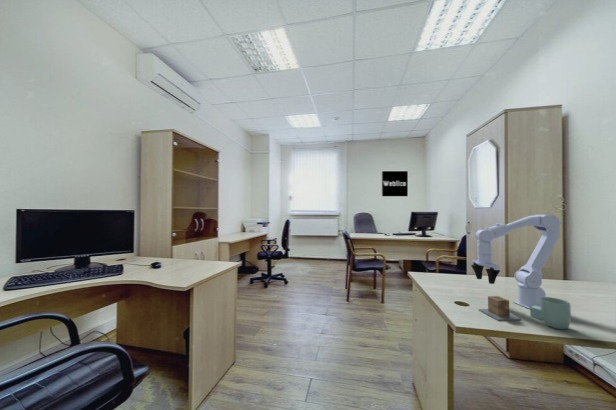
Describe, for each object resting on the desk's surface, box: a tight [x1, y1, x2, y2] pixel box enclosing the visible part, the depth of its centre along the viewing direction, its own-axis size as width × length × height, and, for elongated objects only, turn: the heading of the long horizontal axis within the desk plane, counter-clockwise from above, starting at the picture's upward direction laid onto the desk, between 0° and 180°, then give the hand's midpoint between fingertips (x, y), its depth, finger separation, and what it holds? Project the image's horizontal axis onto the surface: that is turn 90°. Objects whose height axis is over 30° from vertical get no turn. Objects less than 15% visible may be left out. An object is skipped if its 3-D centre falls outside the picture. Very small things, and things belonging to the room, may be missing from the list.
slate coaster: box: [478, 308, 522, 322], centre depth 100 cm, size 10×10×1 cm
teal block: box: [529, 306, 543, 321], centre depth 97 cm, size 4×4×4 cm
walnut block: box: [487, 295, 511, 316], centre depth 100 cm, size 5×5×6 cm
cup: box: [541, 296, 572, 330], centre depth 89 cm, size 8×8×10 cm
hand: (485, 281), depth 115 cm, fingers open, 7 cm apart
